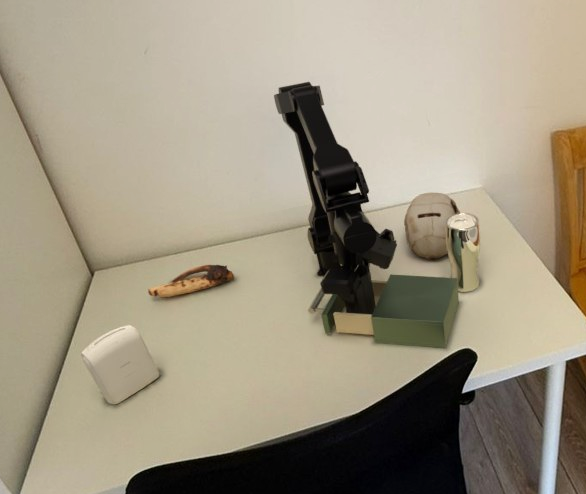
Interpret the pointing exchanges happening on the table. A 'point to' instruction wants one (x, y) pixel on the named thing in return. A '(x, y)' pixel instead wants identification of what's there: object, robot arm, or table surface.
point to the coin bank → (429, 224)
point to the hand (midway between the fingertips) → (358, 297)
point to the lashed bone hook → (193, 281)
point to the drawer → (345, 320)
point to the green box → (416, 311)
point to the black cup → (363, 293)
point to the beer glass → (463, 249)
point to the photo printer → (120, 363)
